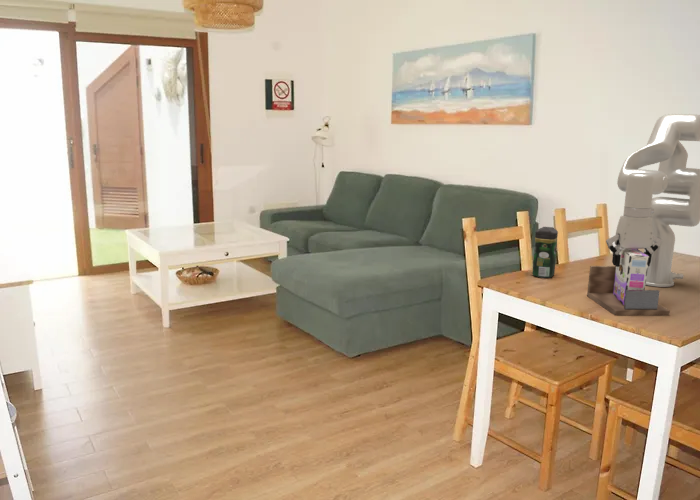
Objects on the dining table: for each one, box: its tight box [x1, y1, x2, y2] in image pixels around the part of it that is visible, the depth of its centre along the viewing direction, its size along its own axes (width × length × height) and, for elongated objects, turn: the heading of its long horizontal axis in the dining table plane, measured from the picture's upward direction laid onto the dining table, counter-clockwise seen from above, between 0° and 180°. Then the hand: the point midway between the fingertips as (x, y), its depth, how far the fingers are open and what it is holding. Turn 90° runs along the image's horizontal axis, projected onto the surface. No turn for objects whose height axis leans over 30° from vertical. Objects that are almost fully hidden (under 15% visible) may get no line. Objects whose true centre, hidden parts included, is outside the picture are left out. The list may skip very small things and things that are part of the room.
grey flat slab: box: [624, 289, 660, 310], centre depth 181 cm, size 10×1×6 cm, turn 92°
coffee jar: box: [532, 226, 559, 279], centre depth 224 cm, size 10×8×19 cm
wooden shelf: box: [586, 265, 671, 316], centre depth 189 cm, size 17×20×10 cm
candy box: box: [613, 249, 649, 305], centre depth 189 cm, size 14×6×16 cm, turn 170°
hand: (631, 265), depth 189 cm, fingers open, 9 cm apart
